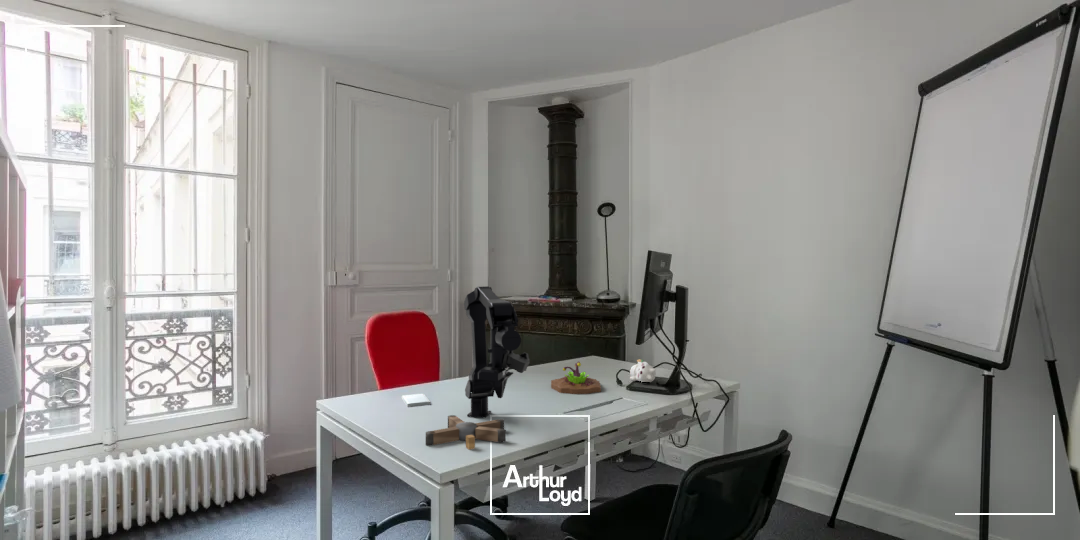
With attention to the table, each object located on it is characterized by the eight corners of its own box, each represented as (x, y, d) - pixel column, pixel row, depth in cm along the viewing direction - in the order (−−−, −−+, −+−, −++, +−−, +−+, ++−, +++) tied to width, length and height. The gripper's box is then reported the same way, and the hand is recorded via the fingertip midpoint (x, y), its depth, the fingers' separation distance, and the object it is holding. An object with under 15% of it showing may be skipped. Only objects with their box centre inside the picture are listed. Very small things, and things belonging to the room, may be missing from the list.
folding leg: (475, 439, 160) (475, 428, 160) (479, 436, 162) (479, 426, 162) (503, 442, 157) (503, 432, 157) (507, 439, 159) (507, 429, 159)
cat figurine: (630, 356, 238) (651, 358, 224) (644, 364, 240) (665, 367, 227) (621, 376, 235) (642, 380, 221) (635, 385, 238) (657, 388, 224)
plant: (558, 396, 209) (558, 366, 209) (546, 384, 229) (546, 357, 228) (608, 393, 214) (608, 364, 213) (593, 381, 233) (593, 355, 232)
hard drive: (430, 401, 197) (423, 392, 208) (407, 403, 194) (401, 395, 205) (430, 405, 197) (423, 397, 208) (407, 408, 194) (401, 399, 205)
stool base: (411, 432, 166) (411, 420, 166) (486, 419, 179) (486, 408, 179) (438, 455, 148) (437, 442, 148) (518, 439, 160) (518, 427, 160)
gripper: (514, 352, 151) (514, 409, 151) (536, 341, 169) (536, 392, 169) (476, 349, 154) (476, 405, 155) (502, 339, 172) (502, 389, 173)
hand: (500, 397), depth 163 cm, fingers closed
